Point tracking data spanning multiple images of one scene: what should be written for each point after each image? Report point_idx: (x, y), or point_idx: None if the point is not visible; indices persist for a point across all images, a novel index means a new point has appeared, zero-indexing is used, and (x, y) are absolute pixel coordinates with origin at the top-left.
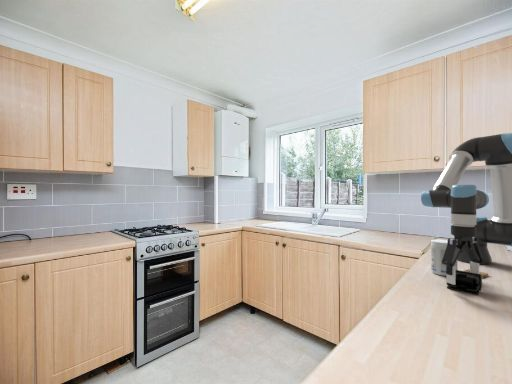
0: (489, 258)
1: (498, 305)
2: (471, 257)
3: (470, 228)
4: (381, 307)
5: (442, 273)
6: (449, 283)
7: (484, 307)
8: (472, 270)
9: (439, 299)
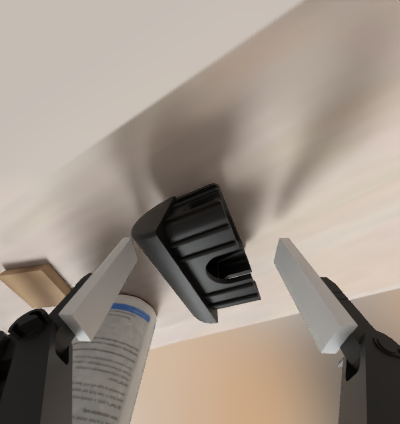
0: None
1: (258, 75)
2: (65, 385)
3: None
4: None
5: (149, 311)
6: (232, 262)
7: (344, 83)
8: (116, 284)
9: (386, 203)
